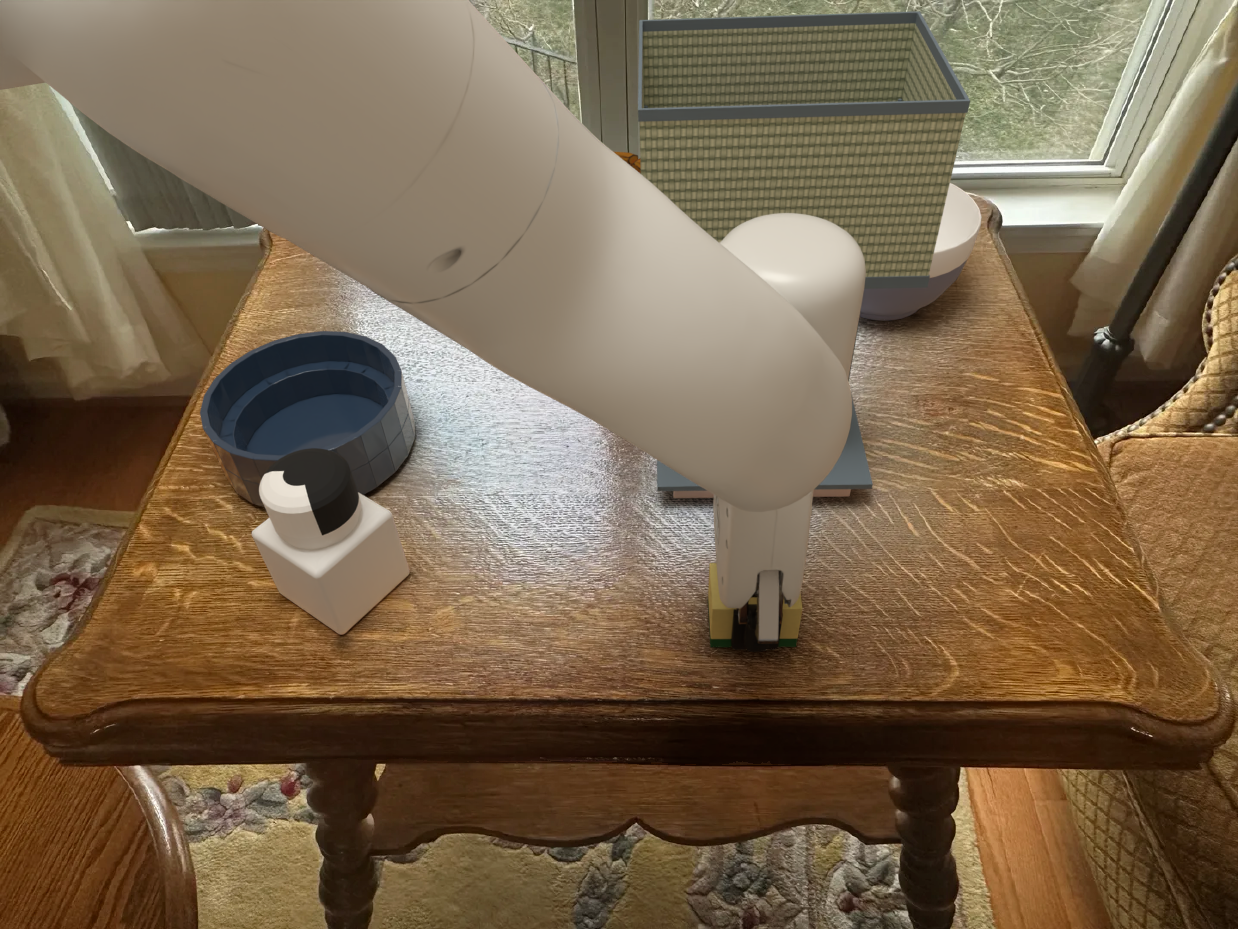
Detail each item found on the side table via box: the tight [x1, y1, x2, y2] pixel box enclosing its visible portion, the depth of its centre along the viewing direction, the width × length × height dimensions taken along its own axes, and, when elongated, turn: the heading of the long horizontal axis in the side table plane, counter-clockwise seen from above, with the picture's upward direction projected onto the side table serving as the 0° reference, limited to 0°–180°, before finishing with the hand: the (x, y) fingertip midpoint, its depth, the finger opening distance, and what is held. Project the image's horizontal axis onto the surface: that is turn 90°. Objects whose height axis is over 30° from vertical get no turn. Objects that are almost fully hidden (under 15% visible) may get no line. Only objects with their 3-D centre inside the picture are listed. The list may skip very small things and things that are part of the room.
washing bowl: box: [199, 330, 416, 508], centre depth 80 cm, size 16×16×6 cm
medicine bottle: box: [251, 448, 411, 636], centre depth 67 cm, size 7×7×12 cm
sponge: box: [707, 562, 803, 648], centre depth 66 cm, size 6×4×4 cm, turn 89°
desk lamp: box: [637, 10, 971, 499], centre depth 68 cm, size 18×14×33 cm
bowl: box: [859, 182, 982, 322], centre depth 92 cm, size 16×16×10 cm
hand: (751, 616), depth 67 cm, fingers closed on sponge, 4 cm apart
